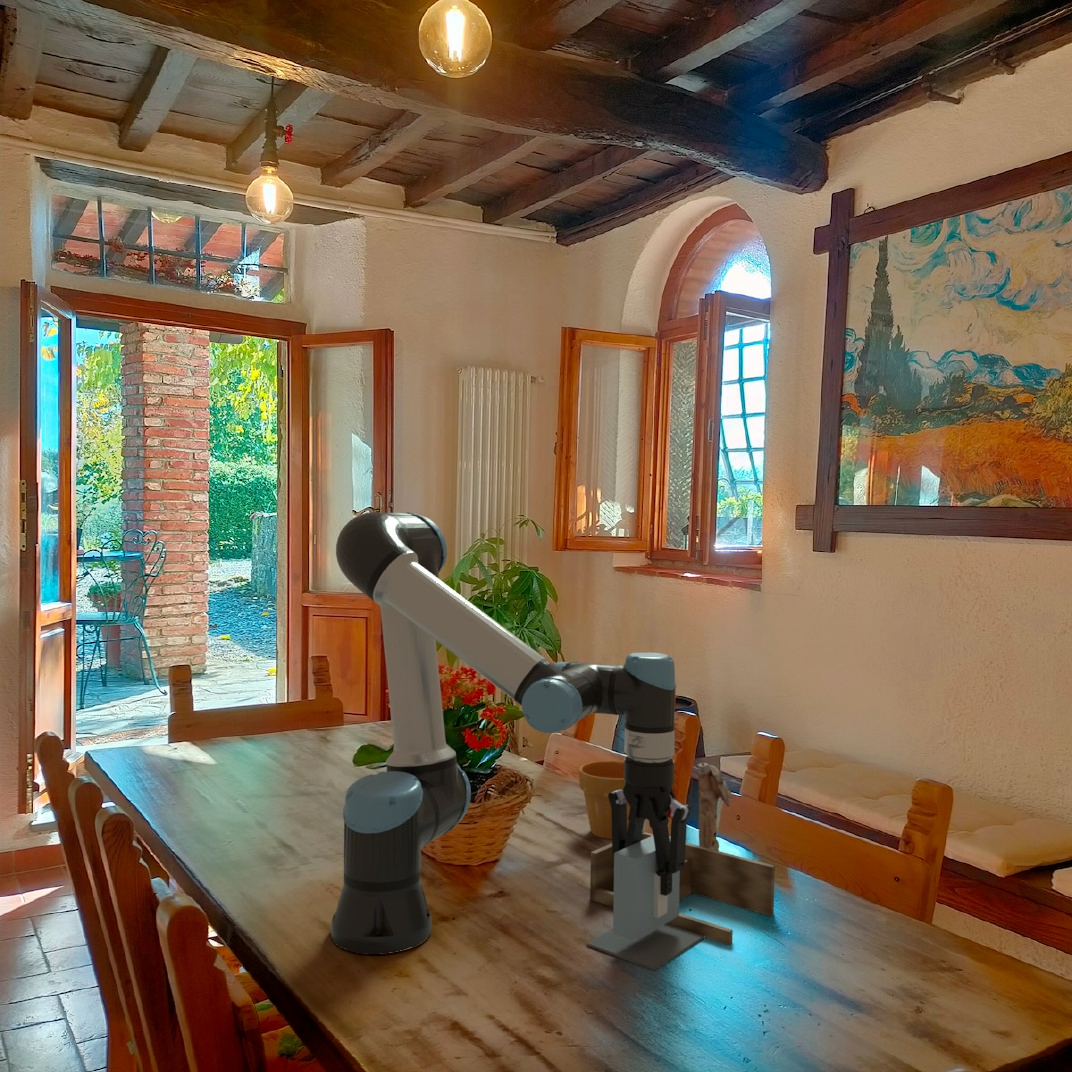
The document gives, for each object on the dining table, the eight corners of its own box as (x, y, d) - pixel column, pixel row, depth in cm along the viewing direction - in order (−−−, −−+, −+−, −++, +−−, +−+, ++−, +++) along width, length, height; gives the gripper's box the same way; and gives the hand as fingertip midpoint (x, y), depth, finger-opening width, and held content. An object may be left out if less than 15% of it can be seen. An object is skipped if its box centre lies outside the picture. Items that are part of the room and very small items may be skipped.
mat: (586, 945, 145) (586, 943, 145) (638, 916, 156) (638, 914, 156) (654, 970, 137) (654, 967, 137) (704, 938, 148) (704, 935, 148)
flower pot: (647, 823, 204) (648, 762, 203) (648, 846, 190) (649, 780, 189) (580, 820, 205) (581, 759, 205) (576, 842, 191) (577, 777, 191)
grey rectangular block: (613, 933, 143) (614, 852, 143) (657, 908, 152) (658, 833, 152) (635, 941, 141) (636, 859, 140) (678, 915, 150) (680, 838, 150)
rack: (590, 899, 163) (590, 852, 162) (639, 874, 174) (640, 830, 174) (729, 945, 146) (730, 892, 146) (773, 914, 158) (774, 865, 157)
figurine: (742, 884, 170) (744, 771, 170) (695, 880, 172) (697, 768, 171) (742, 863, 181) (744, 757, 180) (697, 860, 182) (699, 754, 182)
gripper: (588, 751, 149) (586, 903, 149) (685, 771, 138) (683, 934, 138) (616, 743, 154) (614, 889, 155) (711, 761, 143) (709, 918, 144)
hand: (647, 910), depth 146 cm, fingers closed on grey rectangular block, 4 cm apart
